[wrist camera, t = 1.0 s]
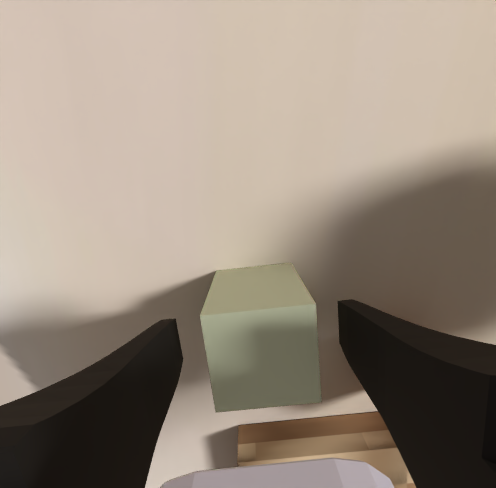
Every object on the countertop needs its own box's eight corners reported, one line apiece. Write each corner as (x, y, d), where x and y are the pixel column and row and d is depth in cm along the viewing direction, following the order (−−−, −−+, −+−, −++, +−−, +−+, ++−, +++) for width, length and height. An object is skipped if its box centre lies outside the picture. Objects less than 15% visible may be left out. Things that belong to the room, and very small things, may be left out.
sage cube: (291, 262, 14) (315, 304, 9) (296, 330, 15) (321, 402, 10) (216, 270, 14) (199, 315, 9) (226, 337, 15) (215, 412, 10)
